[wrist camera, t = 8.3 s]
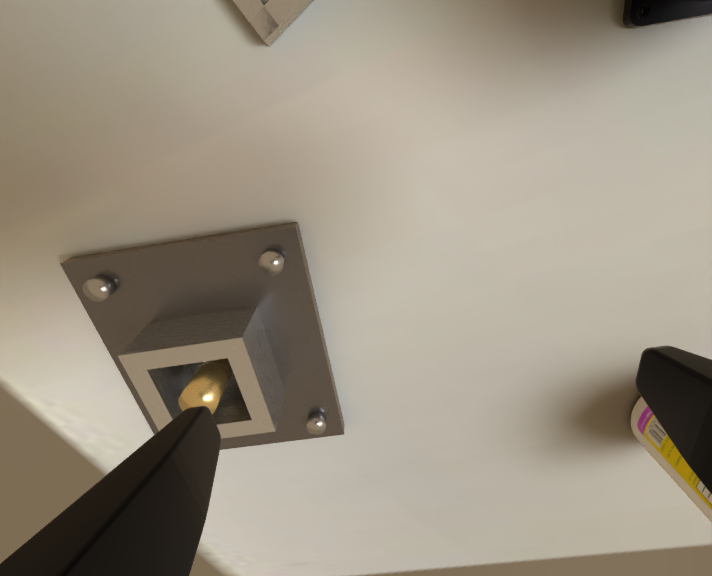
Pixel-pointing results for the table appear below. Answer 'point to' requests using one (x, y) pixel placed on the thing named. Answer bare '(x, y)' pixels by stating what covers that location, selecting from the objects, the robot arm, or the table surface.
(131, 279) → the keeper plate
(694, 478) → the supplement bottle
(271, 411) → the end link
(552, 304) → the table surface
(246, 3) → the chain tail
